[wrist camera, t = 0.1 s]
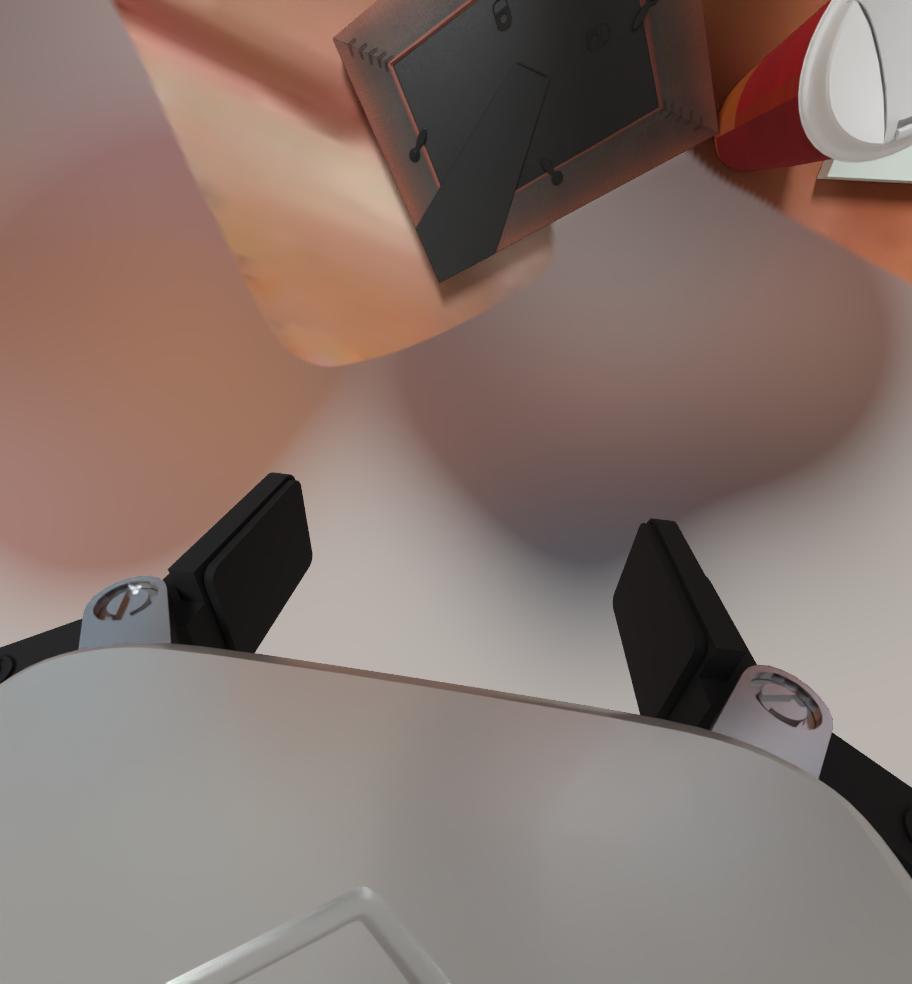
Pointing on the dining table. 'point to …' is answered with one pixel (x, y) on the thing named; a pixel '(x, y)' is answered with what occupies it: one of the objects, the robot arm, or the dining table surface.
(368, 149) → the dining table surface
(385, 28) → the picture frame
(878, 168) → the wall board
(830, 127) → the paper cup
